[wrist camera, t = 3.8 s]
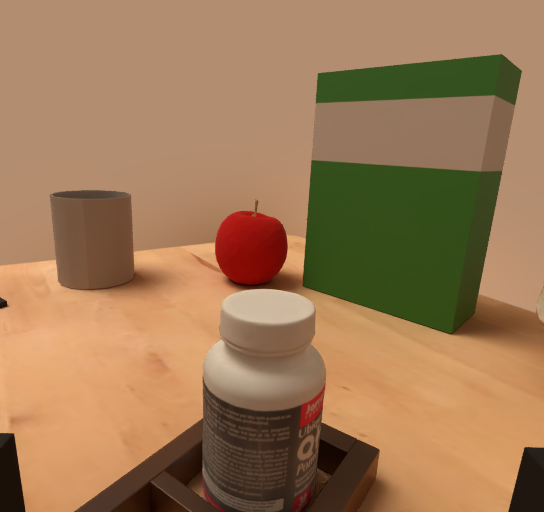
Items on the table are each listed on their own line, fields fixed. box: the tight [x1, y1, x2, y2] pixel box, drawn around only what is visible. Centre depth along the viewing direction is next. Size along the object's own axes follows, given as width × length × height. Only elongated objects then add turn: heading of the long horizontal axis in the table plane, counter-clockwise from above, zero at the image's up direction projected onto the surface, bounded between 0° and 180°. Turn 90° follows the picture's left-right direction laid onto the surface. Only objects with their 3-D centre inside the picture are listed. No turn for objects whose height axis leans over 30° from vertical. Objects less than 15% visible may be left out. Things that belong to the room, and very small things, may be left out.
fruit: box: [215, 200, 288, 285], centre depth 49 cm, size 9×9×10 cm
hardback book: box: [303, 54, 522, 334], centre depth 42 cm, size 18×7×24 cm, turn 48°
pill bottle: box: [202, 289, 326, 512], centre depth 18 cm, size 5×5×10 cm
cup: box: [50, 190, 134, 289], centre depth 47 cm, size 8×8×10 cm
